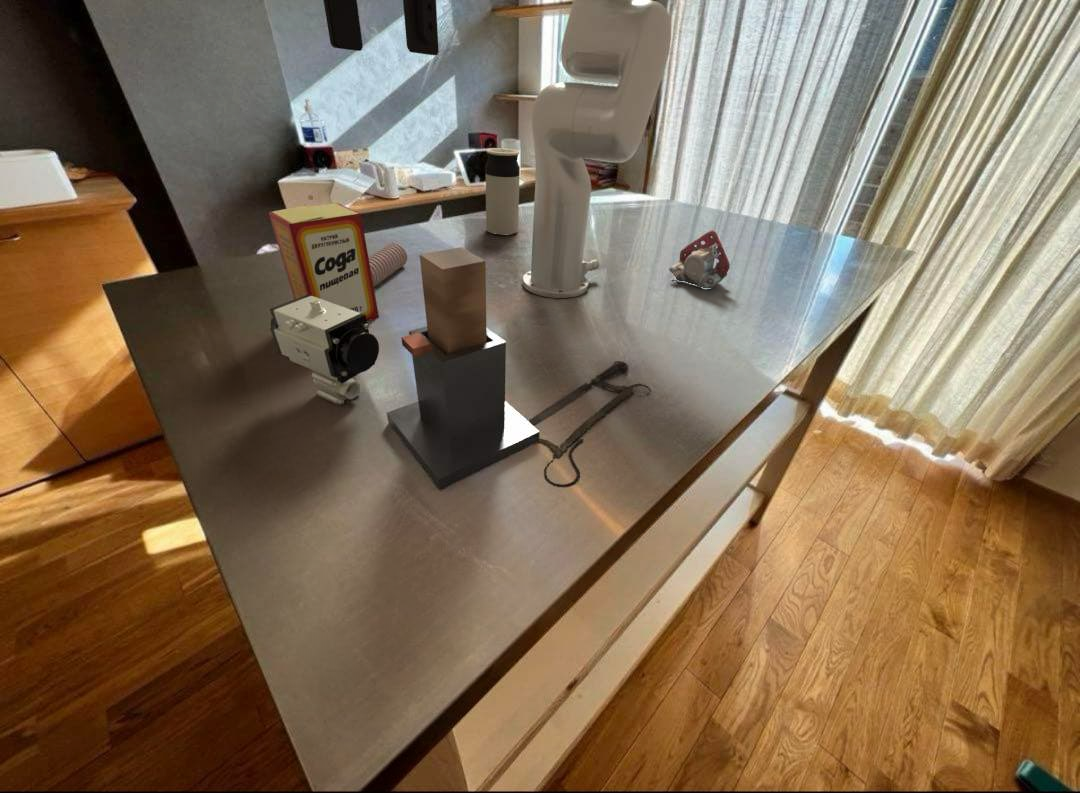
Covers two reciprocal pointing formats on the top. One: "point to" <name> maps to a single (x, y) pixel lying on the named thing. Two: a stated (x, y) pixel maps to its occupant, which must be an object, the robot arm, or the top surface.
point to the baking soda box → (326, 255)
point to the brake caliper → (702, 262)
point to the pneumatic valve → (325, 344)
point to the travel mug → (502, 191)
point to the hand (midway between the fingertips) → (383, 51)
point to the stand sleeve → (459, 410)
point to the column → (454, 299)
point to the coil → (387, 262)
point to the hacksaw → (587, 425)
